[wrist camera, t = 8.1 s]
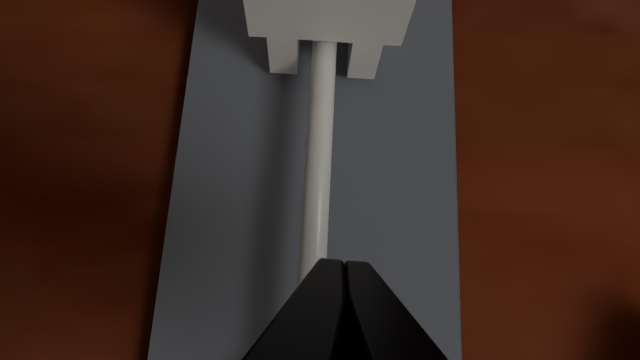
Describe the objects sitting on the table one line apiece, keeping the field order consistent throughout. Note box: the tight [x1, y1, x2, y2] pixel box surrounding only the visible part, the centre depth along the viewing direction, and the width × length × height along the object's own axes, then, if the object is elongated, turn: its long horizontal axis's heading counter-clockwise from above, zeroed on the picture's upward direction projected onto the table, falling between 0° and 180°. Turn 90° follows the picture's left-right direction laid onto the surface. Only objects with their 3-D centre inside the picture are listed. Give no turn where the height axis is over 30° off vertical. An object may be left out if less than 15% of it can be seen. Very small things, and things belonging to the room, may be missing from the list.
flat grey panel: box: [147, 0, 462, 360], centre depth 22 cm, size 26×12×5 cm, turn 177°
